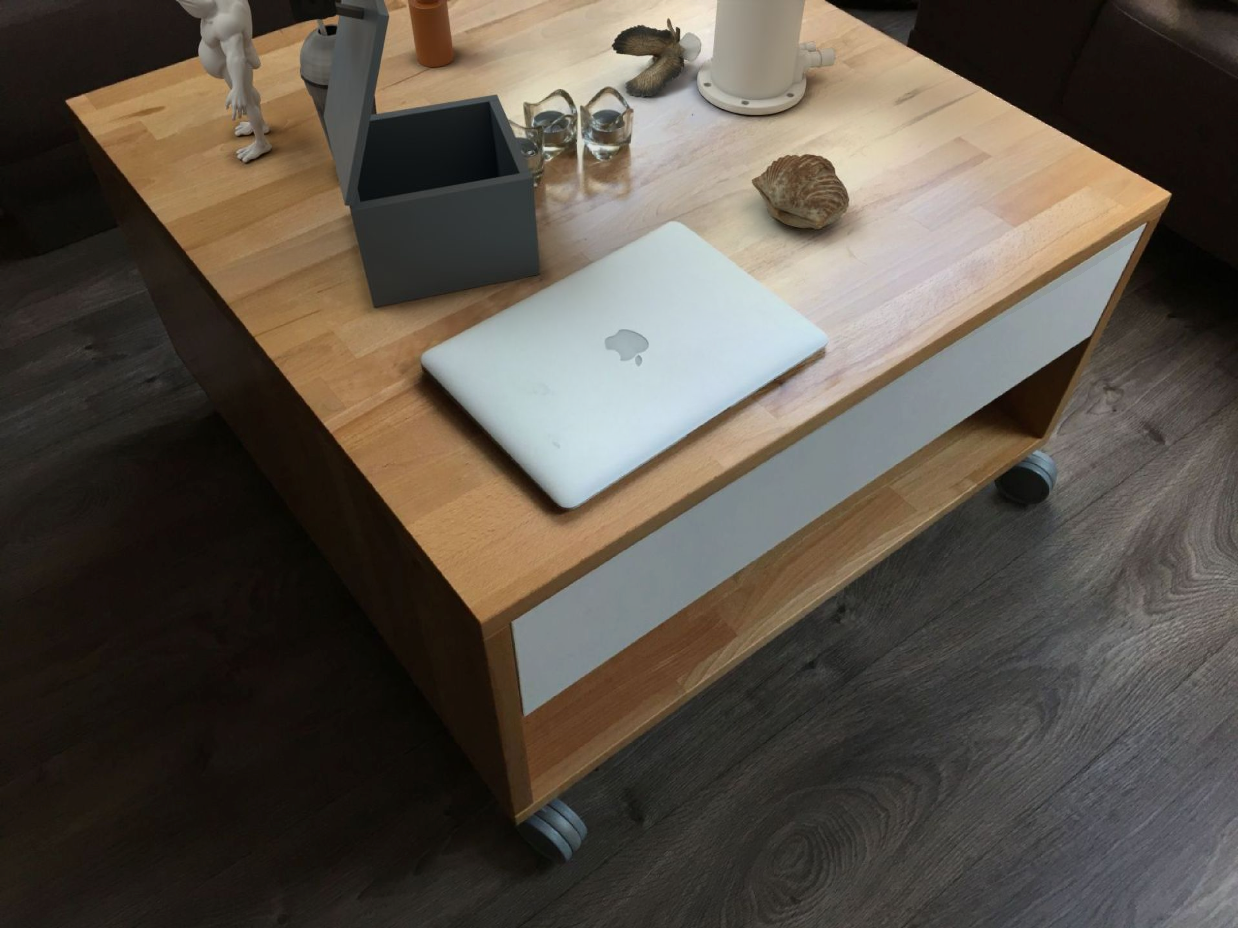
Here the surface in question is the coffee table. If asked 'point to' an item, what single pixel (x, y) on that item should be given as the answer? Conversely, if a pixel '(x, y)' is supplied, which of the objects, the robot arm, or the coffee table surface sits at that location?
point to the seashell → (803, 191)
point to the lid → (354, 86)
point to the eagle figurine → (656, 55)
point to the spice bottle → (431, 32)
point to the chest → (444, 201)
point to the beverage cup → (320, 67)
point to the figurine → (232, 63)
